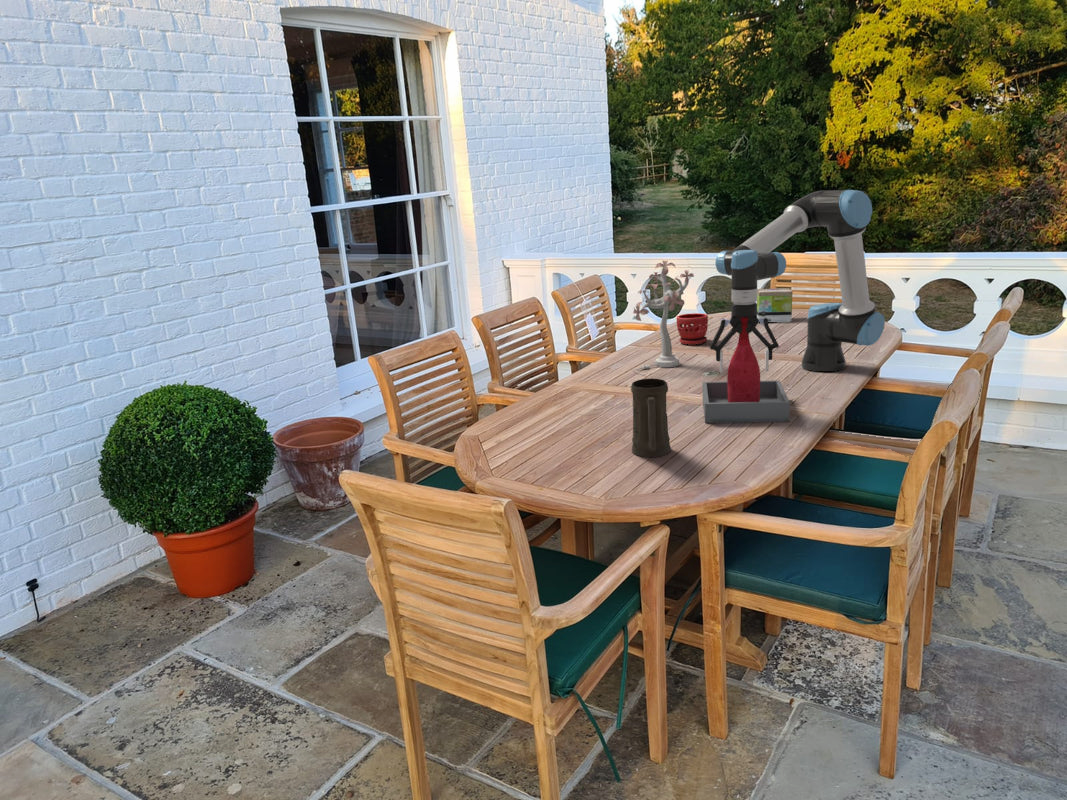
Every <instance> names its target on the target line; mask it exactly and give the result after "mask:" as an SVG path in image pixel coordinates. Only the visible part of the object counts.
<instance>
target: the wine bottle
mask: <svg viewBox="0 0 1067 800" xmlns="http://www.w3.org/2000/svg"><path fill="white" fill-rule="evenodd" d="M740 318H741V323H742V327H741V328H742V332H741V334H739V333H738V341H737V344H736V348H735V350H734V352H733V354H732V357H731V359H730V360H729V364H728V368H727V377H726V378H727V386H728V402H760V381H761V369H760V365H759V362H758V359H757V356H756V354H755V352H754V349H753V348H752V345H751V341H750V336H749V335H750V333H747V332H746V328H748V326H747V323H748V317H740Z"/></svg>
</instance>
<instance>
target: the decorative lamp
mask: <svg viewBox="0 0 1067 800" xmlns="http://www.w3.org/2000/svg"><path fill="white" fill-rule="evenodd" d="M668 261H669V260H668V259H667V260H661V262H657V263H656V264H655V267H654V269H658V268H661V271H660V273H659V274H658V271H656V272H655V271H653V273H654V274H653V273H652V274H650V275H649V276H648V277H649V278H648V280H650V279H652V278H653V280H654V282H655V283H656V284H654V283H648V284H647V285H645V287H644V288H645V289H644V290H639V291H638V292H637V293H638V294H640V295H642V294H643V295H644V297H643V298H642V301H640V302H637V303H636V304H635V307H633V311H632V314H636V316H635V319H636V321H639V322H642V319H641V316H640V315H642V316H644V315H645V316H646V315H647V314H649V313H650V310H648V309H647V308H649V309H655V310H661V309H662V310H663V313H662V317H661V321H660V324H659V331H660V333H659V335H660V340H661V341H660V342H661V343H660V344H661V355H659V357H657V358H656V359H655V361H654V364H651V365H648V364H645V365H642V366H641V367H639V368H635V369H632V371H633V372H635V373H638V374H641V375H643V376H645V377H647V374H643V373H641V372H639V370H646V369H650V368H651V367H655V366H656V367H658V368H673V367H674V368H675V367H678V366H679V365H680V358H678V357H676V356H675V355H674V354H673V348H672V347H673V346H672V339H671V337H670V333H669V330H668V328H667V327H668V325H667V322H668V318H669V317H668V315H669V311H671V312H672V311H674V310H675V308H676V306H675V305H676V304H678V305H680V306H684V305H685V300H684V299H682V298H680V299H678V298H679V296H680V295H681V294H683V292H684V291H685V289H686V288H687V287H688V285H689V283H690V282H689V281H690V277H692V278H693V277H695V275H694V273H689V272H690V271H689V269H688V270H686V269H685V270H684V273H685V274H684V273H681V274H680V275H679V276H678V275H677V276H675V277H674V278H673V279H672V282H671V281H669V282H668V279H667V275H668V273H669V268H668V267H671V266H672V267H674V268H676V265H675V263H673V262H669V263H668ZM680 278H681V279H682V278H684V282H683V283H682V281H681V279H680ZM658 280H659V281H660V282H659V281H658ZM674 281H677V282H678V284H679V287H678V289H677V290H674V291H673V290H672V289H671V285H672V283H674ZM657 282H659V283H657ZM659 285H660V286H662V290H663V291H662V292H663V295H662V297H660V298H659V295H658V293H657V288H658V286H659ZM649 286H651V287H652V288H653V295H654V299H650V296H649V294H648V293H649V291H648V290H647V289H648V287H649ZM646 293H647V294H646ZM644 300H646V302H645V303H644V304H643V305H642V302H644ZM669 303H670V304H669ZM641 305H642V307H641ZM640 308H641V309H640Z"/></svg>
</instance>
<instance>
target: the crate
mask: <svg viewBox="0 0 1067 800" xmlns="http://www.w3.org/2000/svg"><path fill="white" fill-rule="evenodd" d="M790 404H791V402H790V400H789V397H788V396H787V393H786V392H785V388H784V386H783V384H782V382H781V380H779V379H778V380H777V379H776V380H775V379H774V380H773V379H771V380H760V402H728V386H727V381H726V380H725V381H702V405H703V414H704V423H705V424H721V423H722V424H723V423H724V424H725V423H726V424H727V423H729V424H731V423H732V424H733V423H734V424H736V423H739V424H740V423H789V422H790V418H791V417H790V413H791V411H790V410H791V409H790V408H791V405H790ZM786 421H787V422H786ZM788 421H789V422H788Z"/></svg>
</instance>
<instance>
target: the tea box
mask: <svg viewBox="0 0 1067 800" xmlns="http://www.w3.org/2000/svg"><path fill="white" fill-rule="evenodd" d="M756 304H757V318H758V319H760V318H763V317H767V319H768V322H777V323H788V322H790V321H791V322H792V320H793V319H792V315H793V290H792V289H791V288H790V287H789V288H788V287H786V288H785V287H783V288H782V287H781V288H779V287H778V288H757V301H756Z"/></svg>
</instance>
